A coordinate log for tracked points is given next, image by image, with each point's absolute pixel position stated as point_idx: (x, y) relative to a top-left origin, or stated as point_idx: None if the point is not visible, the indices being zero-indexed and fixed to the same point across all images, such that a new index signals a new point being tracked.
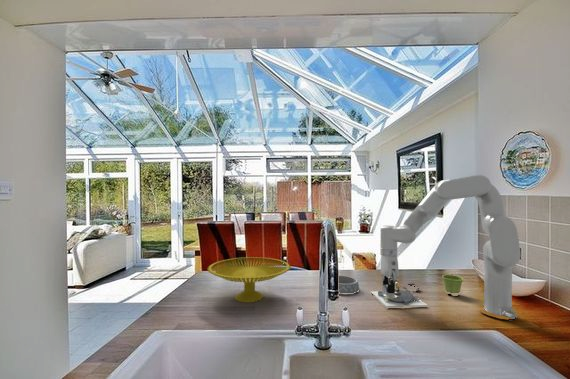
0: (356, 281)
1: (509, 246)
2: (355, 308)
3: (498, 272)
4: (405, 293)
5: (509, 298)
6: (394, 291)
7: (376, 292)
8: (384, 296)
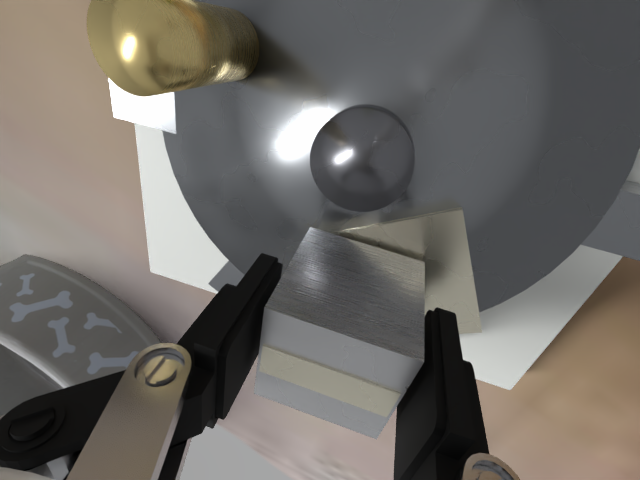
0: (35, 365)
1: None
2: (393, 476)
3: None
4: None
5: None
6: (454, 328)
7: (175, 244)
8: None
